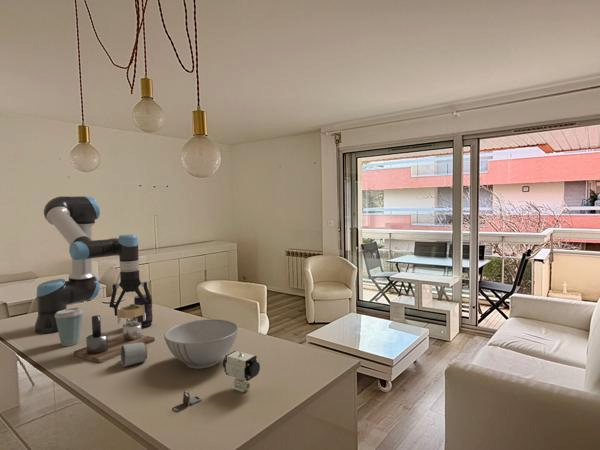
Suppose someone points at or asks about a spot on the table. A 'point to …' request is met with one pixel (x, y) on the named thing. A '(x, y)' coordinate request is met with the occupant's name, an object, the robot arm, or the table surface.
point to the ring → (131, 311)
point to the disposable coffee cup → (69, 325)
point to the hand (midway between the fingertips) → (132, 321)
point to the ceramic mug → (133, 353)
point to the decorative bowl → (201, 341)
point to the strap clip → (187, 401)
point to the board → (112, 348)
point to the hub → (132, 329)
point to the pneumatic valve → (241, 369)
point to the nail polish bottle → (96, 338)
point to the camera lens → (148, 315)
